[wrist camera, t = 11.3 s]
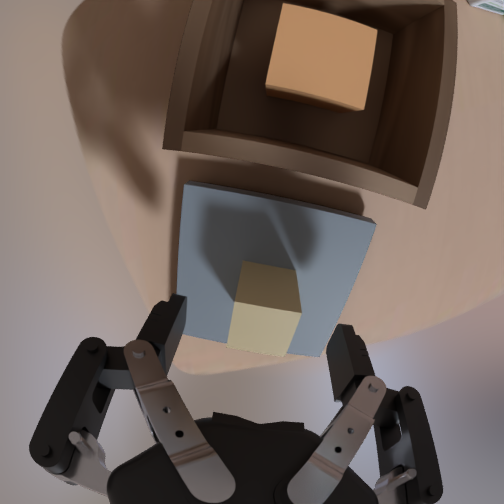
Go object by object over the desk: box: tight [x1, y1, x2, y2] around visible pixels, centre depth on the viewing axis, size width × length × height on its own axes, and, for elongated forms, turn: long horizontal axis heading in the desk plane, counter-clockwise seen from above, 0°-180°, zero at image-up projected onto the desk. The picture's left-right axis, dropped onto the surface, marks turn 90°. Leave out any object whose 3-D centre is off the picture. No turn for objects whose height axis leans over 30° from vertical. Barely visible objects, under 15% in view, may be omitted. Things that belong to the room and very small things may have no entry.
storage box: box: [162, 0, 458, 209], centre depth 9 cm, size 10×10×6 cm
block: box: [265, 3, 377, 113], centre depth 10 cm, size 4×4×4 cm
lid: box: [177, 181, 377, 357], centre depth 16 cm, size 11×11×6 cm
